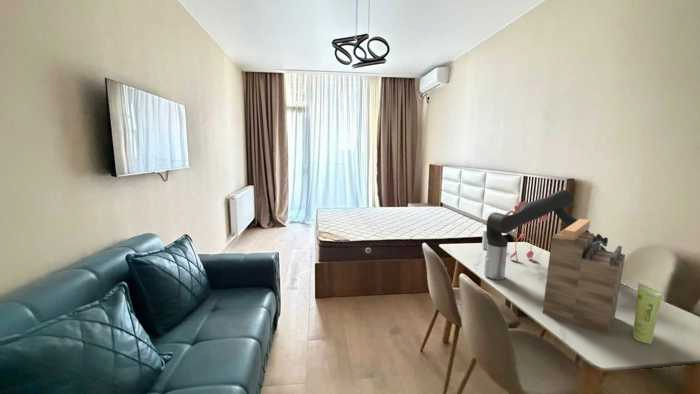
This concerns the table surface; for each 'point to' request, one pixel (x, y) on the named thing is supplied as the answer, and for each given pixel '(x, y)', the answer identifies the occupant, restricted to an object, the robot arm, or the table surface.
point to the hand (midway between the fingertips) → (585, 233)
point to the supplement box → (484, 239)
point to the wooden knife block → (583, 282)
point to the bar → (576, 229)
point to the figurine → (524, 228)
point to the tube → (646, 313)
